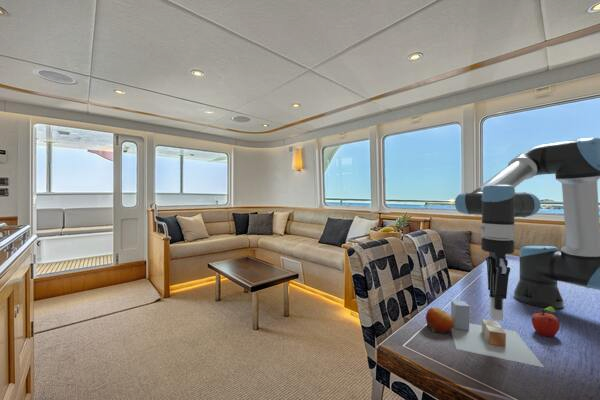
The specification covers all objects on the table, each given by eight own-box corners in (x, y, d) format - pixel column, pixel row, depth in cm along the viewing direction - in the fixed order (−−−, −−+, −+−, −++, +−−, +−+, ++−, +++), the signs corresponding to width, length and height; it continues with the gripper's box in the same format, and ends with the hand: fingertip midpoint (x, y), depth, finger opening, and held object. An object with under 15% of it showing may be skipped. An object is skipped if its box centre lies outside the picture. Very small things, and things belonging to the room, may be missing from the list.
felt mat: (515, 332, 81) (515, 331, 81) (544, 369, 64) (544, 367, 64) (447, 320, 89) (447, 319, 89) (456, 350, 71) (456, 349, 71)
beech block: (506, 348, 72) (497, 334, 79) (506, 334, 72) (497, 321, 79) (488, 344, 74) (481, 331, 81) (489, 330, 74) (482, 319, 81)
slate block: (464, 325, 85) (464, 301, 85) (469, 331, 81) (469, 306, 81) (451, 323, 86) (451, 300, 86) (455, 329, 82) (455, 305, 82)
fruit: (415, 320, 86) (427, 300, 86) (434, 331, 86) (445, 311, 87) (429, 333, 78) (442, 310, 78) (450, 345, 78) (462, 323, 79)
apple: (524, 329, 83) (524, 299, 83) (543, 329, 83) (543, 298, 83) (548, 343, 75) (549, 309, 75) (569, 342, 76) (570, 309, 76)
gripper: (476, 234, 81) (475, 307, 81) (487, 240, 69) (487, 326, 69) (505, 236, 78) (504, 312, 78) (522, 242, 66) (521, 332, 66)
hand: (496, 318), depth 74 cm, fingers closed
